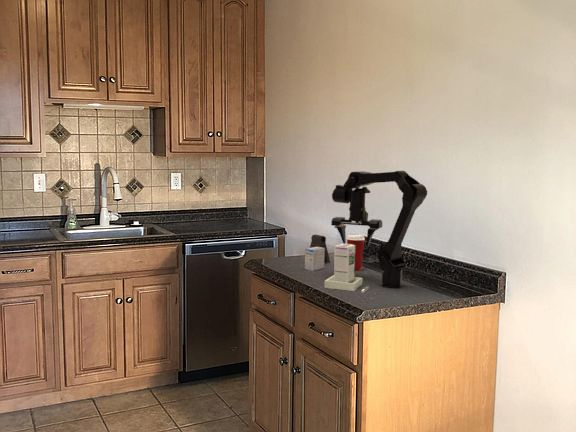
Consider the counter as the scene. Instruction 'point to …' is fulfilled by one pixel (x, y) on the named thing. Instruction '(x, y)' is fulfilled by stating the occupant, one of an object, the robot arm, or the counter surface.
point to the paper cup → (357, 249)
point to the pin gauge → (365, 289)
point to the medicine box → (314, 258)
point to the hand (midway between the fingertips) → (356, 245)
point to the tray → (343, 284)
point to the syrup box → (344, 263)
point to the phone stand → (320, 245)
